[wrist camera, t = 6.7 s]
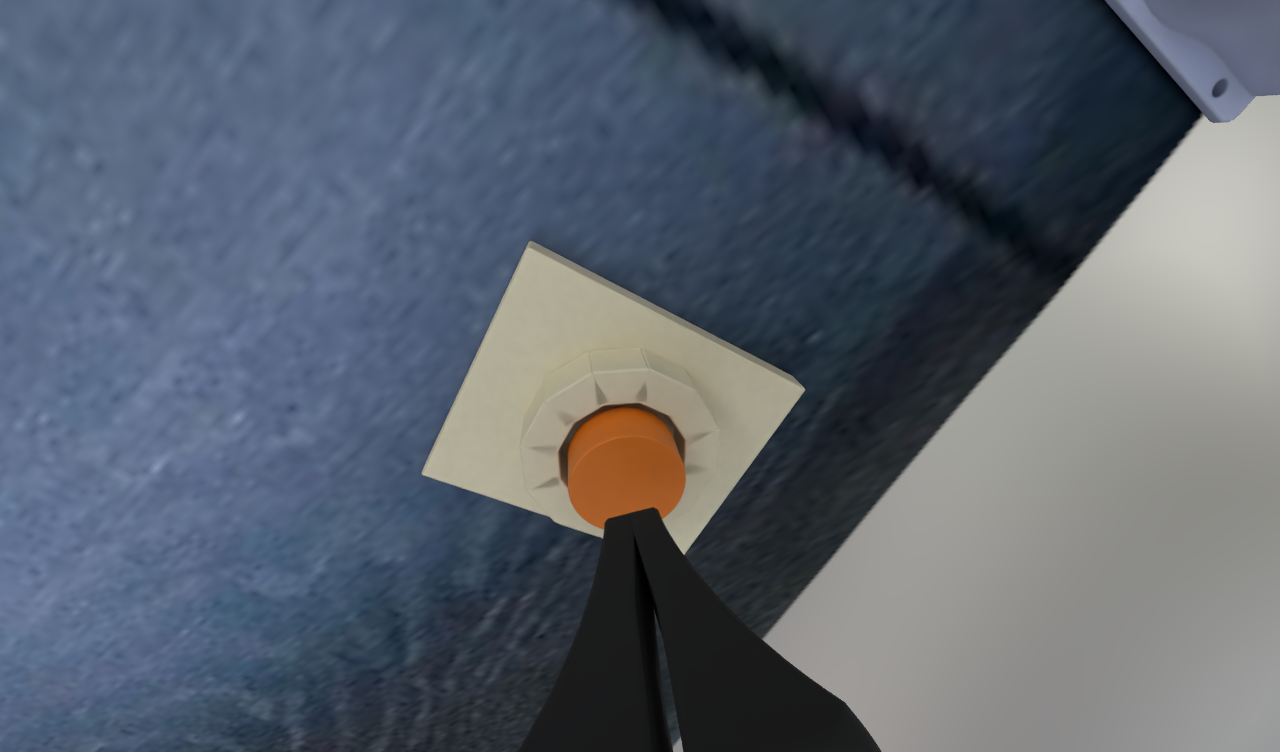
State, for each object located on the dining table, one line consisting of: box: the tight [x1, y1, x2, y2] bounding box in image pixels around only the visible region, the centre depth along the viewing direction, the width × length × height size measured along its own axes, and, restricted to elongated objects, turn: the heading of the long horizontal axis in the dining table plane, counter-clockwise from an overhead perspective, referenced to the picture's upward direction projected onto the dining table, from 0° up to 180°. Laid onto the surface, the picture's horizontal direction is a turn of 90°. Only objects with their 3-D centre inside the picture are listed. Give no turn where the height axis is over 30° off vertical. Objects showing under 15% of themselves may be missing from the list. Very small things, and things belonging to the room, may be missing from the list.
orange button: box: [568, 407, 686, 529], centre depth 16 cm, size 4×4×2 cm
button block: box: [422, 241, 805, 554], centre depth 18 cm, size 11×9×3 cm
